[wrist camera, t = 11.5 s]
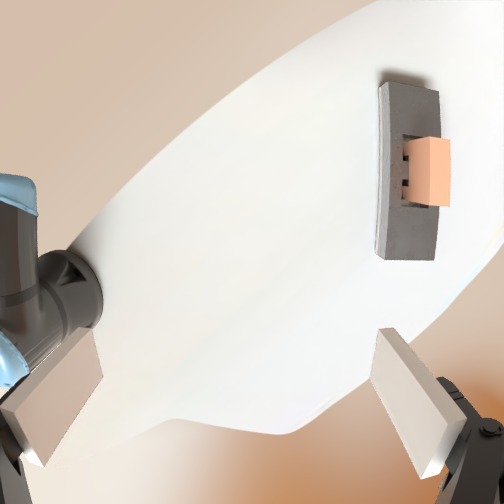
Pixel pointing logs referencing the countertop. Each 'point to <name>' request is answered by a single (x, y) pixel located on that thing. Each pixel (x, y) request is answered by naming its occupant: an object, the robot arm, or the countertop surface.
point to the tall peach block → (428, 171)
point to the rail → (404, 172)
